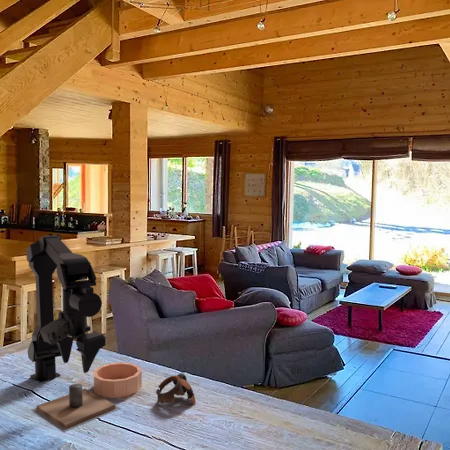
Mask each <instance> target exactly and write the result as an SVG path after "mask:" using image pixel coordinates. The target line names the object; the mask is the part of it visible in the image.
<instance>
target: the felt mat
mask: <svg viewBox="0 0 450 450" xmlns="http://www.w3.org/2000/svg"><path fill="white" fill-rule="evenodd" d="M120 409H122V408H121V407H120V406H117V405H116V404H115V409H113V410H110V411H108V412H105V413H103V414H100V415H98V416H96V417H93V418H91V419H88V420H86V421H84V422H81V423H79V424H76V425H74V426H72V427H69V428H67V429H65V428H64V427H62V426H61V425H59V424H58V423H56V422H55V421H53V420H52V419H50V418H49V417H47V416H46V415H44V414H42V413H41V412H39V411H38V410H37V407H35V408H32V409H31V411H32V412H34V413H35V414H36V415H38V416H39V417H41V418H42V419H44V420H46V421H47V422H48V423H50V424H51V425H53V426H54V427H56V428H57V429H58V430H60V431H62V432H63V433H66V432H68V431H71V430H73V429H75V428H78V427H79V426H82V425H84V424H87V423H90V422H92V421H94V420H97V419H99V418H102V417H104V416H106V415H108V414H111V413H114V412H115V411H116V412H117V411H118V410H120Z"/></svg>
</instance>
